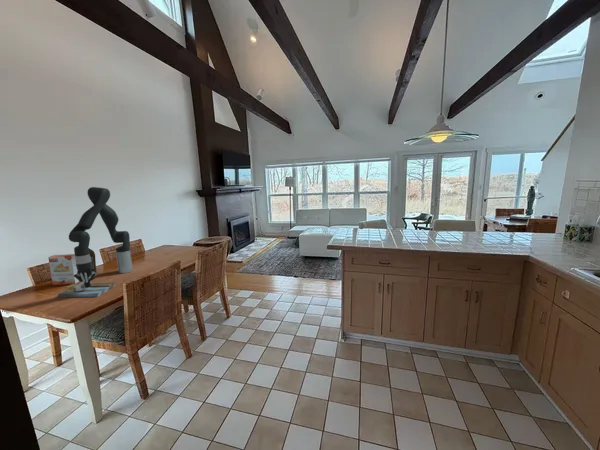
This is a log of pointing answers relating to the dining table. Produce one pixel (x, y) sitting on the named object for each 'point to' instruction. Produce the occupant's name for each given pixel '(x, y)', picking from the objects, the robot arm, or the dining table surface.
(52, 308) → the dining table surface
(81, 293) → the latched flap box
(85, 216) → the robot arm
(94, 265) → the olive oil
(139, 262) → the dining table surface
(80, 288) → the lock bar
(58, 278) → the cracker box
